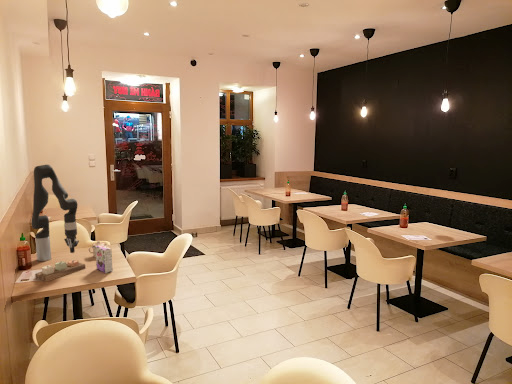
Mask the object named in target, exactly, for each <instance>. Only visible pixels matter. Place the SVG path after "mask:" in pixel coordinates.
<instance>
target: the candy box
mask: <svg viewBox="0 0 512 384" xmlns="http://www.w3.org/2000/svg"><path fill="white" fill-rule="evenodd" d="M95 252H96V257H95V262H96V269H97V270H98V271H100V272H101V273H104V274H107V273H109V274H110V273H113V272H114V271H113V256H112V255H113V253H112V252H113V251H112V247H111V248H110V247H109V246H106V244H105V245H98V246H95Z"/></svg>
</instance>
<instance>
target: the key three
mask: <svg viewBox="0 0 512 384" xmlns="http://www.w3.org/2000/svg"><path fill="white" fill-rule="evenodd" d="M79 263H80V262H79V260H75V259H74V260H70V261H67V262H66V264H68V266H71V267H73V266H76V265H79Z"/></svg>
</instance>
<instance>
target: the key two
mask: <svg viewBox="0 0 512 384" xmlns="http://www.w3.org/2000/svg"><path fill="white" fill-rule="evenodd" d="M66 264H67V262H66V261H59V262H55V263H54V268H55V269H56V270H59V271H60V270H63V269H67V265H66Z"/></svg>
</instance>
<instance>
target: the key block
mask: <svg viewBox="0 0 512 384" xmlns="http://www.w3.org/2000/svg"><path fill="white" fill-rule="evenodd" d="M66 265H67V269H63V270H60V271H59V270H56V269H55V267H54V273H51V274H48V275H45V274H42V271H40V272H36V273H35V274H34V275H35V277H34V278H35V279H38V280H41V281H44V282H49V281H51V280H52V281H53V280H55V279H58V278H60V277H64V276H67V275H70V274H73V273H75V272H78V271H79V272H80V271H81V270H85V269H86V264H85V263H82V262H79V265H76V266H73V267H71V266H68V264H67V263H66Z"/></svg>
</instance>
